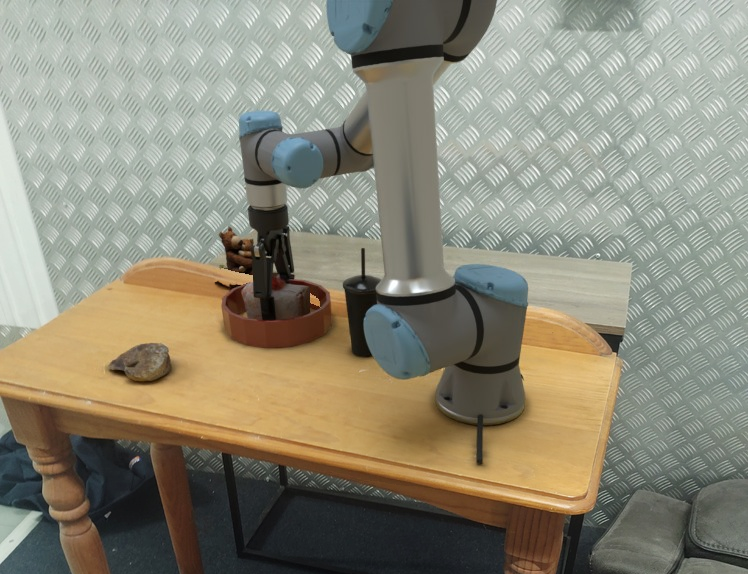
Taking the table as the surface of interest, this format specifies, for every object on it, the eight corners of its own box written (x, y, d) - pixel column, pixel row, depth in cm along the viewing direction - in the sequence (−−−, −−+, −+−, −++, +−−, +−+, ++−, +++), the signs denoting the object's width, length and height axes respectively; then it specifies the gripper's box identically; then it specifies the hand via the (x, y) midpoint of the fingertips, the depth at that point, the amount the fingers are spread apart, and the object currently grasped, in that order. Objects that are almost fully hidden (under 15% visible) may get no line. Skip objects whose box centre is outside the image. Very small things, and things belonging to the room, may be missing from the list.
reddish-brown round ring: (309, 353, 138) (307, 327, 135) (206, 339, 143) (202, 314, 140) (345, 309, 155) (344, 284, 151) (252, 297, 160) (249, 273, 156)
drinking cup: (379, 362, 136) (379, 257, 123) (340, 358, 137) (336, 254, 124) (387, 344, 141) (388, 242, 129) (349, 341, 143) (347, 240, 130)
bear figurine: (254, 297, 160) (248, 242, 153) (205, 283, 166) (196, 230, 159) (291, 278, 169) (287, 225, 162) (243, 265, 175) (237, 214, 168)
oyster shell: (147, 351, 140) (141, 327, 137) (185, 371, 133) (180, 346, 130) (103, 368, 134) (97, 344, 131) (141, 390, 128) (135, 365, 125)
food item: (240, 328, 147) (234, 282, 141) (255, 313, 154) (250, 267, 147) (303, 335, 145) (299, 288, 139) (315, 319, 151) (312, 273, 145)
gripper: (270, 188, 143) (280, 297, 157) (224, 219, 127) (240, 337, 141) (305, 191, 141) (312, 301, 155) (263, 223, 126) (275, 342, 140)
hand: (278, 318), depth 148 cm, fingers closed on food item, 8 cm apart
